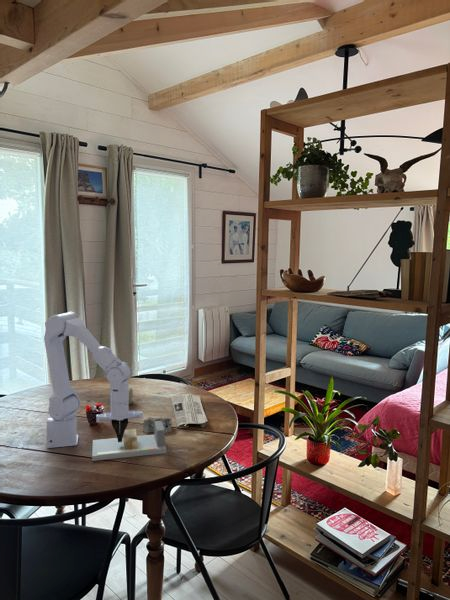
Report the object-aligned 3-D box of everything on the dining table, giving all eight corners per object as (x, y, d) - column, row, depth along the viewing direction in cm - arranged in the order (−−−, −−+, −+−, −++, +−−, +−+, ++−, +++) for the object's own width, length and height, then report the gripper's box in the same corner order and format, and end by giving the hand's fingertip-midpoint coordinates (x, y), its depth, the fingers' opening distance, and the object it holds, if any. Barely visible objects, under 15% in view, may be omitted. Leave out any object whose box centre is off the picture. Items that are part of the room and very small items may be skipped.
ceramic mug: (131, 407, 183) (131, 389, 183) (111, 407, 182) (111, 389, 182) (133, 399, 194) (133, 382, 193) (114, 399, 193) (114, 382, 192)
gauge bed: (92, 460, 136) (91, 439, 135) (92, 444, 147) (92, 424, 147) (166, 453, 142) (166, 432, 141) (161, 437, 154) (161, 418, 153)
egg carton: (141, 434, 157) (141, 423, 157) (144, 425, 165) (144, 415, 164) (171, 434, 157) (171, 423, 157) (173, 426, 165) (173, 415, 164)
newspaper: (170, 399, 195) (171, 392, 194) (198, 398, 197) (198, 390, 197) (178, 431, 160) (178, 422, 160) (211, 429, 163) (211, 420, 162)
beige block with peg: (124, 451, 139) (124, 440, 138) (123, 439, 147) (123, 429, 147) (137, 450, 140) (137, 439, 140) (135, 438, 148) (135, 428, 148)
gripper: (96, 406, 136) (96, 448, 138) (143, 403, 140) (143, 443, 142) (96, 399, 143) (96, 439, 145) (141, 396, 147) (141, 435, 148)
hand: (119, 441), depth 144 cm, fingers closed
